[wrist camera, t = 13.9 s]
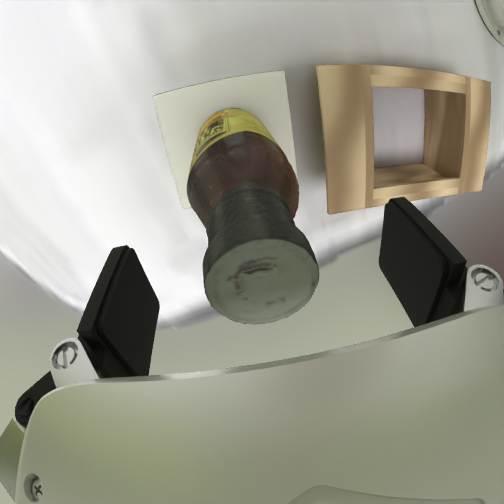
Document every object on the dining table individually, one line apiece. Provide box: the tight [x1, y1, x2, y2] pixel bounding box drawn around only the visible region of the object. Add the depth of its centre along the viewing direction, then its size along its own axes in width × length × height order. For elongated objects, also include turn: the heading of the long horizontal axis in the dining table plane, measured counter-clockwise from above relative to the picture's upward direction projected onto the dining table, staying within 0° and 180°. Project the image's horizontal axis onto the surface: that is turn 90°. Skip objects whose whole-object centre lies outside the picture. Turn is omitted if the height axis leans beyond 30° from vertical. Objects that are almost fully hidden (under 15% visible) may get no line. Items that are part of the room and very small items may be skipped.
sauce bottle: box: [187, 108, 319, 324], centre depth 18 cm, size 7×6×20 cm
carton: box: [316, 64, 491, 215], centre depth 24 cm, size 20×13×7 cm, turn 99°
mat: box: [152, 71, 298, 209], centre depth 26 cm, size 12×12×1 cm
